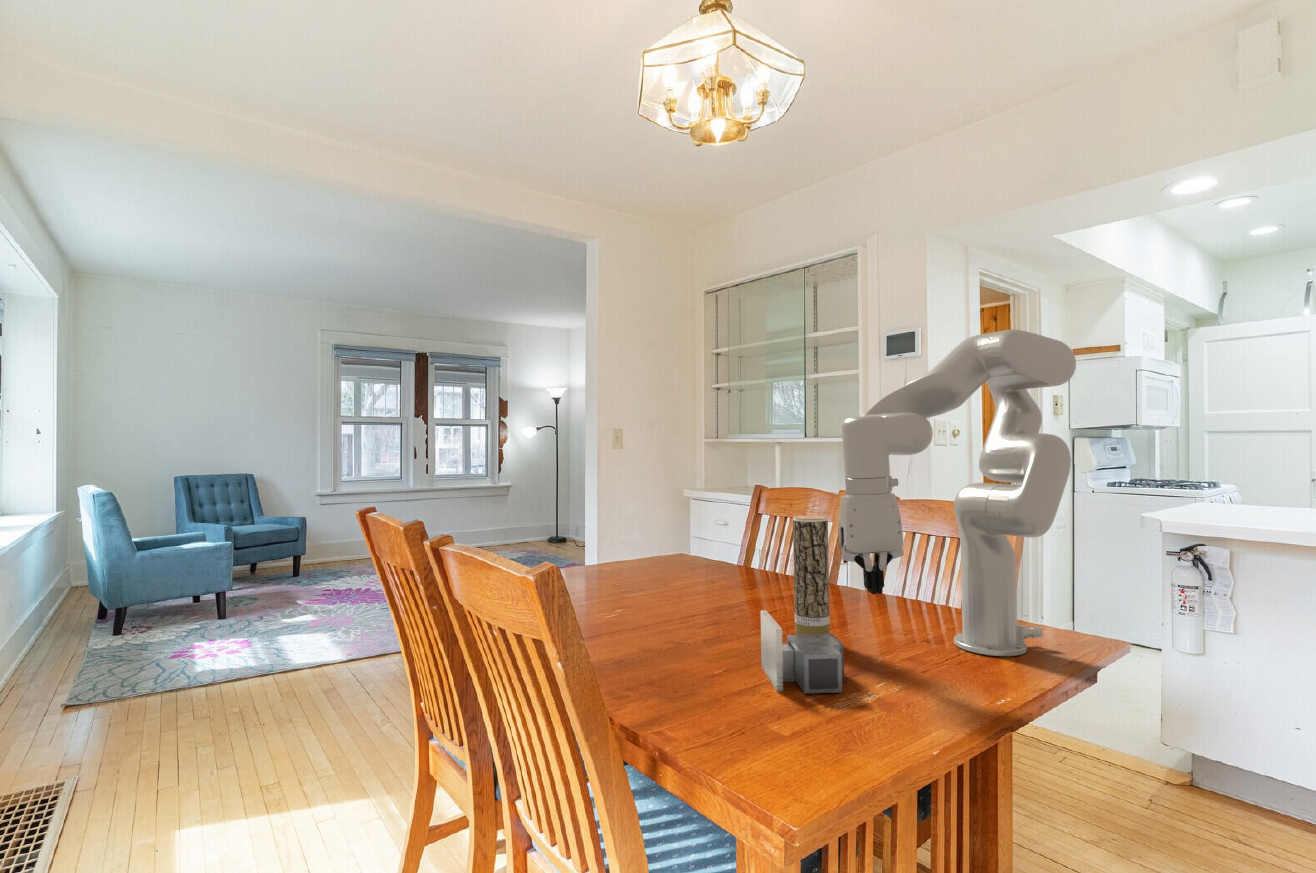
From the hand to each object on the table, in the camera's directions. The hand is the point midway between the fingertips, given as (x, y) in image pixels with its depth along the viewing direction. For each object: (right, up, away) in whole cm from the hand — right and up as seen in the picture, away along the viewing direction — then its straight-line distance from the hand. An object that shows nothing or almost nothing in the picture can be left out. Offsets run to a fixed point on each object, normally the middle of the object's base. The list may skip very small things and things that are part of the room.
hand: (874, 592), depth 114 cm
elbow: (-11, -14, -5) cm, 18 cm away
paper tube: (-7, -14, +17) cm, 23 cm away
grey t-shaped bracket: (-13, -14, -2) cm, 19 cm away
